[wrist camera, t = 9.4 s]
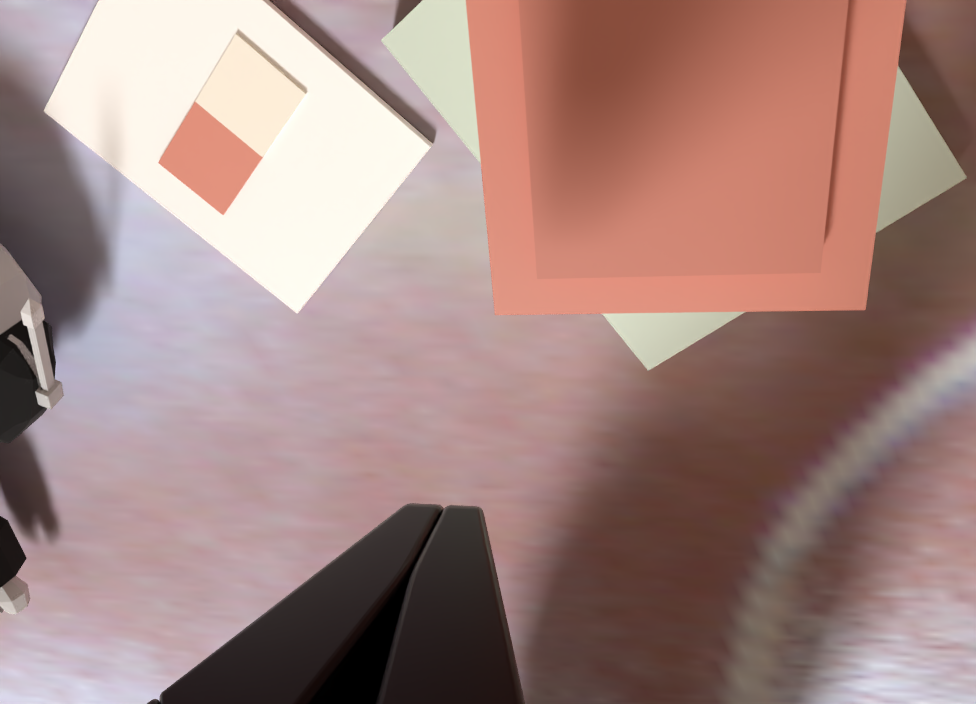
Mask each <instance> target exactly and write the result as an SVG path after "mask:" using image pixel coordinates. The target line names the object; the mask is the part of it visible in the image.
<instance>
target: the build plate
mask: <svg viewBox="0 0 976 704" xmlns="http://www.w3.org/2000/svg"><path fill="white" fill-rule="evenodd" d="M381 41H382V42H383V44H384V45H385V46H386V47H387V48H388V50H389V51H390V52H391V53H392V55H393V56H394V57H395V58H396V60H397V61H398V62H399V63H400V65H401V66H402V67H403V68H404V69H405V71H406V72H407V73H408V74H409V76H410V77H411V78H412V79H413V81H414V82H415V83H416V84H417V86H418V87H419V88H420V89H421V90H422V92H423V93H424V94H425V95H426V97H427V98H428V99H429V100H430V102H431V103H432V104H433V105H434V107H435V108H436V109H437V110H438V112H439V113H440V114H441V115H442V116H443V118H444V119H445V120H446V121H447V123H448V124H449V125H450V126H451V128H452V129H453V130H454V131H455V133H456V134H457V135H458V136H459V137H460V139H461V140H462V141H463V142H464V144H465V145H466V146H467V147H468V149H469V150H470V151H471V152H472V154H473V155H474V156H475V157H476V158H477V160H478V161H479V162H480V163H481V159H480V149H479V138H478V127H477V117H476V106H475V95H474V84H473V74H472V63H471V52H470V42H469V31H468V20H467V9H466V0H422V1H421V2H420V3H419V4H418V5H417V6H416V7H415V8H414V9H413V10H412V11H411V12H410V13H409V14H408V15H407V16H406V17H405V18H404V19H403V20H402V21H401V22H400V23H399V24H398V25H396V26H395V27H394V28H393V29H392V30H391V31H390V32H389V33H388V34H387V35H386V36H385V37H384V38H383V39H382V40H381ZM966 178H967V177H966V175H965V174H964V172H963V170H962V169H961V167H960V165H959V164H958V162H957V161H956V159H955V157H954V156H953V154H952V152H951V151H950V149H949V148H948V146H947V144H946V143H945V141H944V139H943V138H942V136H941V135H940V133H939V131H938V130H937V128H936V126H935V125H934V123H933V122H932V120H931V118H930V117H929V115H928V113H927V112H926V110H925V109H924V107H923V105H922V104H921V102H920V100H919V99H918V97H917V96H916V94H915V92H914V91H913V89H912V88H911V86H910V84H909V83H908V81H907V79H906V78H905V76H904V75H903V73H902V71H901V70H900V68H899V66H898V68H897V75H896V83H895V90H894V98H893V106H892V113H891V121H890V128H889V136H888V143H887V151H886V159H885V166H884V174H883V181H882V189H881V197H880V204H879V212H878V219H877V227H876V233H877V232H878V231H880V230H882V229H883V228H885V227H887V226H888V225H890V224H892V223H893V222H895V221H897V220H898V219H900V218H902V217H903V216H905V215H907V214H908V213H910V212H912V211H913V210H915V209H916V208H918V207H920V206H921V205H923V204H925V203H926V202H928V201H930V200H931V199H933V198H935V197H936V196H938V195H940V194H941V193H943V192H945V191H946V190H948V189H950V188H951V187H953V186H955V185H956V184H958V183H959V182H961V181H963V180H964V179H966ZM743 313H745V312H684V313H610V314H603V315H604V317H605V318H606V319H607V320H608V322H609V323H610V324H611V325H612V327H613V328H614V329H615V330H616V332H617V333H618V334H619V335H620V336H621V338H622V339H623V340H624V341H625V343H626V344H627V345H628V346H629V348H630V349H631V350H632V351H633V353H634V354H635V355H636V356H637V358H638V359H639V360H640V361H641V362H642V364H643V365H644V366H645V367H646V369H647V370H648V371H649V370H650V369H652V368H654V367H655V366H657V365H659V364H660V363H662V362H664V361H665V360H667V359H669V358H670V357H672V356H673V355H675V354H677V353H678V352H680V351H682V350H683V349H685V348H687V347H688V346H690V345H692V344H693V343H695V342H697V341H698V340H700V339H702V338H703V337H705V336H707V335H708V334H710V333H711V332H713V331H715V330H716V329H718V328H720V327H721V326H723V325H725V324H726V323H728V322H730V321H731V320H733V319H735V318H736V317H738V316H740V315H741V314H743Z"/></svg>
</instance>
